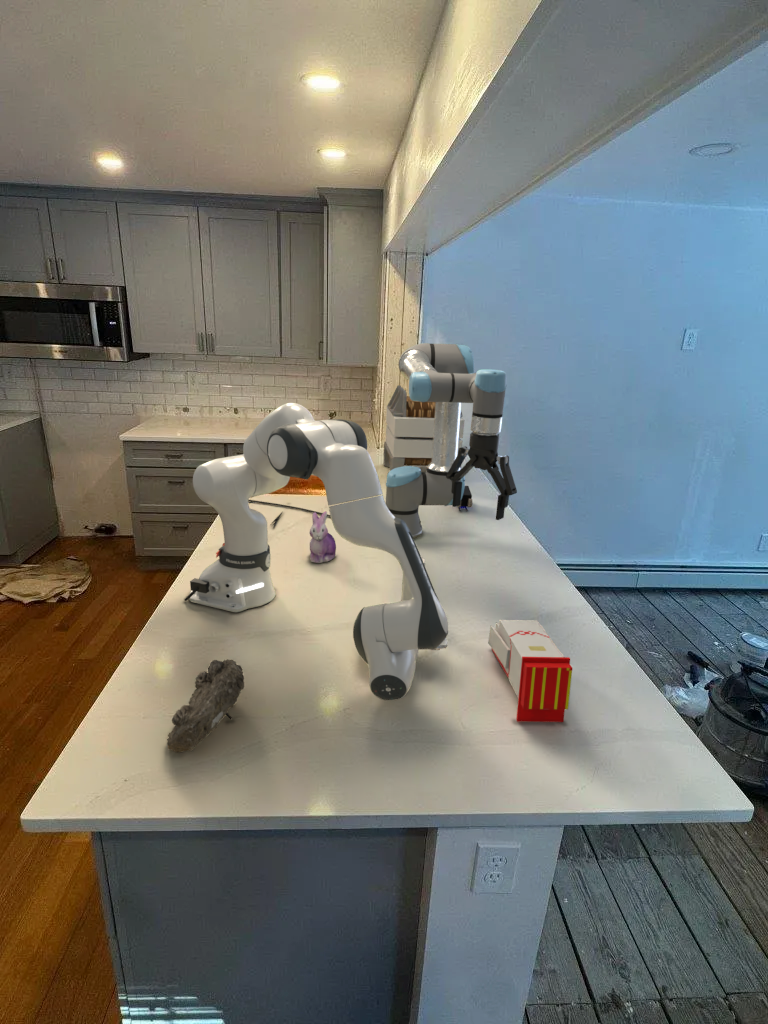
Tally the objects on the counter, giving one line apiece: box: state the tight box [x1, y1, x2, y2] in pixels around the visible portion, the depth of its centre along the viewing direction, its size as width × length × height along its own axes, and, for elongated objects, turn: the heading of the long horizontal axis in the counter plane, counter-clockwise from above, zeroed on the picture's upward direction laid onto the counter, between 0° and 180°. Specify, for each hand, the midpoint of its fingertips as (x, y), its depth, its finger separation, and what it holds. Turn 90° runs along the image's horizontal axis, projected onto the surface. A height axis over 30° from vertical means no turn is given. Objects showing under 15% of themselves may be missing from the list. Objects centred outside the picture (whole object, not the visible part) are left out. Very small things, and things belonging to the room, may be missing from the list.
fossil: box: [166, 658, 245, 754], centre depth 106 cm, size 22×10×15 cm
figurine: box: [309, 510, 337, 564], centre depth 176 cm, size 9×10×15 cm
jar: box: [400, 572, 413, 601], centre depth 145 cm, size 5×5×15 cm
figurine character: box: [456, 485, 473, 512], centre depth 229 cm, size 7×8×15 cm
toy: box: [488, 619, 573, 723], centre depth 122 cm, size 12×13×30 cm
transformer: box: [383, 384, 465, 471], centre depth 268 cm, size 34×33×41 cm
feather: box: [270, 512, 283, 529], centre depth 212 cm, size 2×28×2 cm
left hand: (406, 612), depth 136 cm, fingers open, 8 cm apart
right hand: (477, 512), depth 150 cm, fingers open, 13 cm apart
